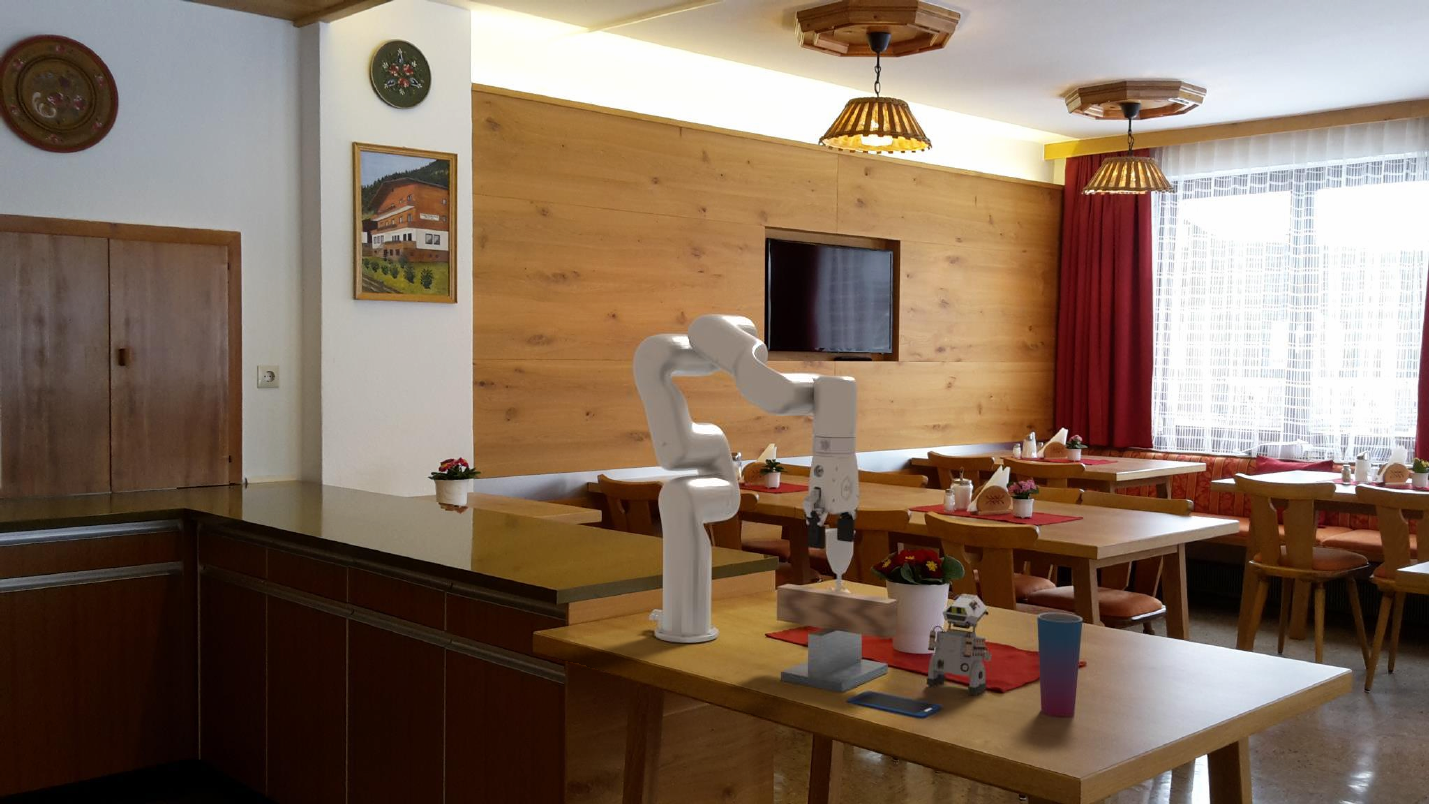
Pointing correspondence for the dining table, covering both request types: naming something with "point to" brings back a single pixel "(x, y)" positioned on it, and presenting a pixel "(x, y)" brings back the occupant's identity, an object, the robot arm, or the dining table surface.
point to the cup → (1058, 662)
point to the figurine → (960, 645)
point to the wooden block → (837, 610)
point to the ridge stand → (834, 662)
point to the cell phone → (895, 704)
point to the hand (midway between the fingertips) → (831, 544)
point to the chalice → (838, 553)
